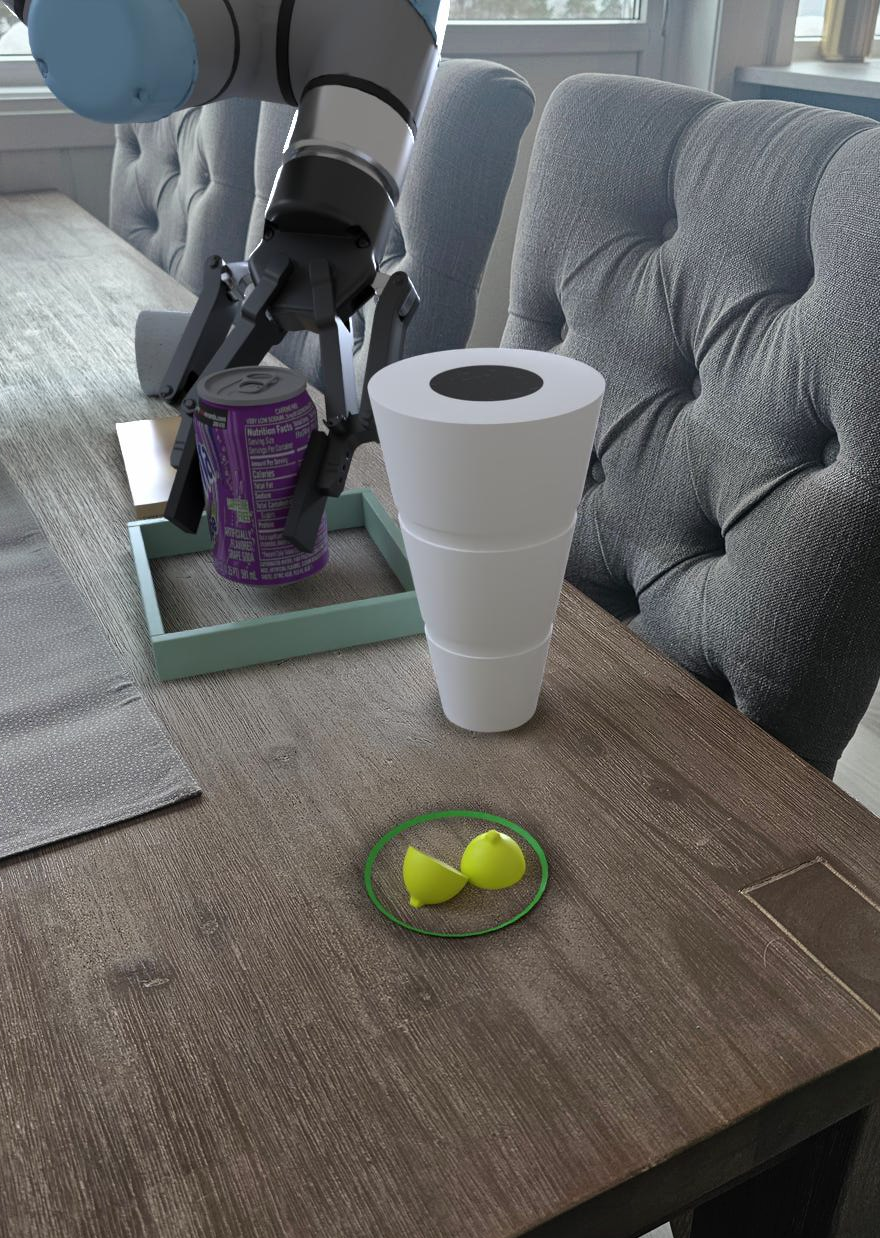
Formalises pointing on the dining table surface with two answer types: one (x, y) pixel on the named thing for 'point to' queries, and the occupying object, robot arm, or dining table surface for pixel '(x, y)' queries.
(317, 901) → the dining table surface
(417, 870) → the green round dish
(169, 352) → the ceramic mug
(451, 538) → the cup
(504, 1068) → the dining table surface
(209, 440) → the beverage can
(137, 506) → the birch board
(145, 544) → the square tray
